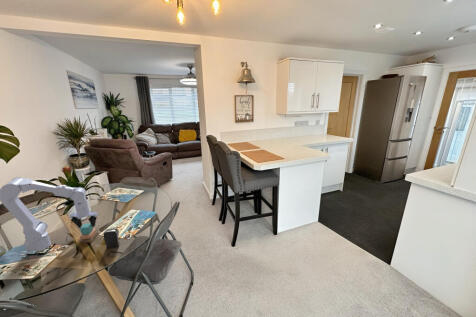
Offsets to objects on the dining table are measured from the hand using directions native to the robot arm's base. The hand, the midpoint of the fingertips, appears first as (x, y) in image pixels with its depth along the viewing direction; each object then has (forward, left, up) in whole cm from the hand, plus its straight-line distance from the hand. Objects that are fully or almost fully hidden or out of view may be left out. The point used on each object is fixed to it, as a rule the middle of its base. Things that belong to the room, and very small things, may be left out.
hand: (87, 226), depth 113 cm
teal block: (0, -1, -4) cm, 4 cm away
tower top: (0, 0, -6) cm, 6 cm away
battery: (+18, -8, -9) cm, 21 cm away
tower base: (0, -1, -9) cm, 9 cm away
